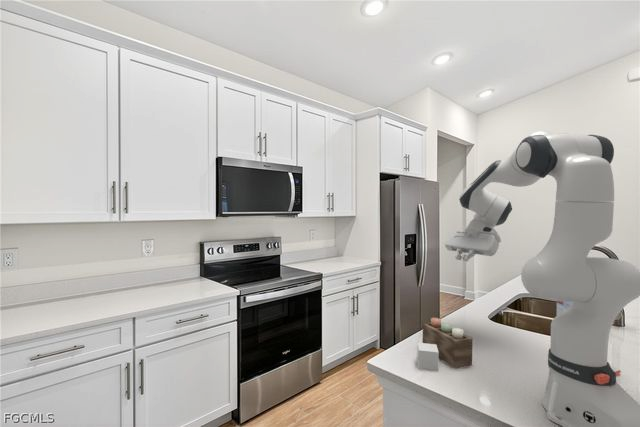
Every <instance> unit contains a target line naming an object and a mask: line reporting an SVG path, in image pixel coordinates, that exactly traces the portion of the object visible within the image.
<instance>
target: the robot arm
mask: <svg viewBox="0 0 640 427" xmlns="http://www.w3.org/2000/svg"><path fill="white" fill-rule="evenodd" d="M614 154H615V148H614V145H613V143H612V141H611V140H610V139H608V138H607V137H605V136H601V135H596V134H578V133H577V134H573V133H568V132H567V133H566V132H565V133H563V132H562V133H553V132H550V131H546V130H540V131H539V130H538V131H535V132H532V133H530V134H529V135H528V136H527V137H525V138H523V139H522V140H521V142H520V143H519V144H518V146H517V147H516V148H515V150H513V152H512V154H511V155H510V156H509V157H507V158H506V159H502V160H500V159H499V160H495V161H494V162H492V163H491V164H490V165H489V166H488V167H487V168H485V169H484V170H483V172H481V173H480V175H478V177H477V178H475V180H474V181H473V182H471V183H470V184H469V185H467V187H465V188H464V189H463V190H462V191H461V194H460V195H459V198H458V199H459V203H460V205H461V207H462V208H464V209H466V210H469V211H471V212H473V213H474V215H473V219H472V220H470V221H469V223H468V224H467V225H466V228H465V230H464V231H456V232H453V233H452V234H451V235H449V236H448V238H447V239H446V240H445V242H444V246H445V248H446V249H447V250H448V251H450V252H456V255H455V256H454V258H455V259H456V260H457V261H461V260H463V262H469V260H470V259H472V258H474V256H475V255H482V256H486V257H487V256H488V257H493V256H494V255H495V254H497V251H498V249H499V246H500V243H501V242H502V240H501V236H500V235H499V234H498V232H497V230H496V229H494V228H495V227H497V226H501V225H503V224H504V223H505V222H506V221H507V219H508V217H509V216H510V214H511V212H512V210H513V206H512V203H511V201H510V200H508V199H506V198H505V197H502V196H500V195H498V194H496V193H494V192H492V191H489V190H487V189H486V187H487V186H488V185H489V184H490V183H499V184H504V185H508V186H513V187H517V188H518V187H519V188H521V187H522V188H523V187H529V186H531V185H533V184H535V183H537V182H538V181H539V180H541V179H544V178H545V177H547V176H550V177H552V178H553V179H554V180H555V181H556V192H555V204H554V205H555V206H554V216H553V224H552V225H553V226H552V229H551V230H552V231H551V234H550V236H549V239H548V241H547V242H546V244H545V245H544V246H543V248H542V249H541V250H540V251H539V252H538V253H537V254H536V255H535V256H533V257H532V258H530V259H529V260H527V261H526V263H525V264H524V265H523V267H522V269H521V275H520V276H521V277H520V278H521V283H522V285H523V287H524V289H525V291H526V292H527V293H528V294H530V295H531V296H533V297H535V298H539V299H542V300H547V301H552V302H557V301H570V302H572V304H571V306H570V307H569V308H568V309H567V310H566V311H565V312H563V313H561V314H559V315H557V314H556V315H557V316H555V317H554V318H553V319H552V321H551V323H550V347H549V349H548V355H547V365H548V376H547V377H548V378H547V382H546V387H545V391H544V394H543V397H542V398H541V405H542V406H543V407H544V410H546V412H547V414H546V416H547V419H548V420H550V421H551V422H553V423H555V424H557V425H559V426H561V427H640V403H638V402H637V401H636V400H635V399H634V398H633V396H631V395H630V394H629V393H628V392H627V391H626V390H625V389H624V388H623V387H622V386H621V385H620V384H619V383H618V382H617V378H618V377H620V376H621V372H622V371H621V370H613V368H612V367H611V365H610V363H609V361H608V354H609V352H608V351H609V340H610V334H611V333H610V332H611V330H612V326H613V324H614V322H615V320H616V318H617V317H618V315H619V314H620V312H621V311H622V310H623V309H624V308H625V307H627V305H629V303H631V302H633V301H634V300H636V299H638V298H639V297H640V270H639V269H638V268H637V267H636V265H634V264H633V263H631V262H628V261H624V260H620V259H616V258H610V257H589V256H588V255H589V253H590V252H591V250H592V249H593V248H594V247H595V246H596V245H598V244H599V243H602V242H604V241H606V240H607V239H608V238H609V237H610V236H611V235H612V233H613V226H614V225H613V224H614V208H615V184H614V175H613V170H612V169H613V168H612V165H611V164H612V162H613V159H614ZM463 253H467V254H464V255H462V254H463Z"/></svg>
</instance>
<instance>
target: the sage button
mask: <svg viewBox="0 0 640 427" xmlns="http://www.w3.org/2000/svg"><path fill="white" fill-rule="evenodd" d="M452 328H453V326H452V324H451V323H449V322H441V331H442V332H444V333H451V332H452Z"/></svg>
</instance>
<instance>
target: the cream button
mask: <svg viewBox="0 0 640 427" xmlns="http://www.w3.org/2000/svg"><path fill="white" fill-rule="evenodd" d="M463 334H464V329H462V328H460V327H452V337H453V338H456V339H463Z"/></svg>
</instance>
